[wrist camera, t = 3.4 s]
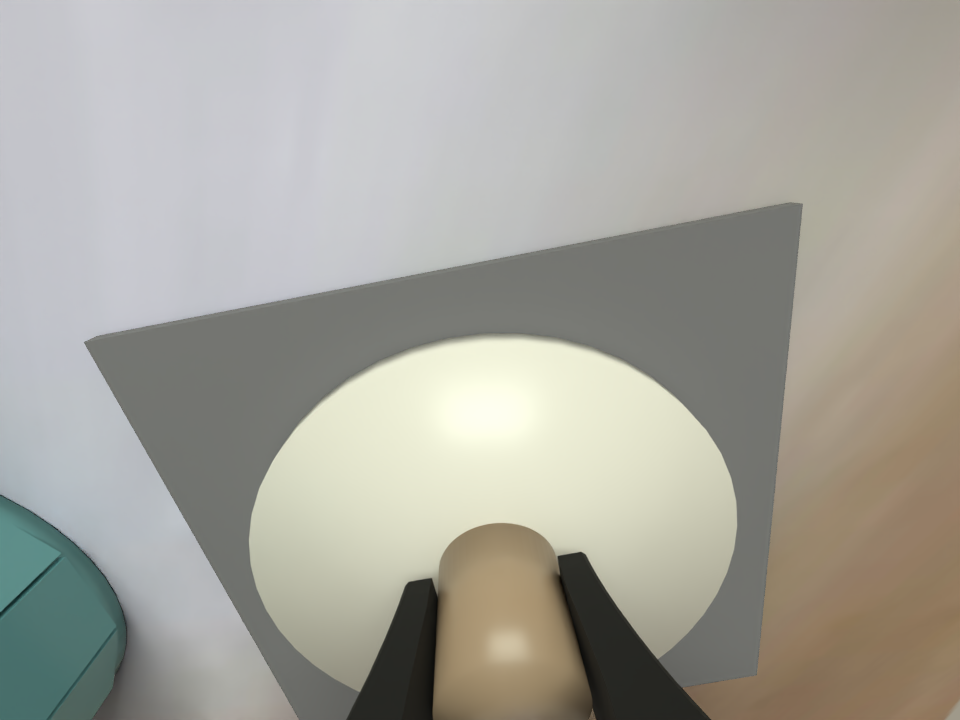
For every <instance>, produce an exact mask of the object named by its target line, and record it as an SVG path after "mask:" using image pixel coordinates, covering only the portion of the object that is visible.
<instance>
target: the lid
mask: <svg viewBox="0 0 960 720" xmlns="http://www.w3.org/2000/svg"><path fill="white" fill-rule="evenodd" d="M736 532H737V506H736V498H735V493H734V489H733V484H732V479H731V476H730V474H729V471H728V469H727V466H726V464H725V462H724V459H723V457H722V454H721V452H720V451H719V449H718V448H717V446H716V444H715V443H714V441H713V440H712V438H711V437H710V435H709V434H708V432H707V430H706V429H705V428H704V427H703V426H702V425H701V424H700V423H699V421H698V420H697V419H696V418H695V417H694V416H693V415H692V414H691V413H690V412H689V410H688V409H687V408H686V407H685V406H684V405H683V404H682V403H681V402H680V401H679V400H678V399H677V398H676V397H675V396H674V395H673V394H672V393H671V392H670V391H669V390H667V389H666V388H665V387H664V386H662V385H661V384H660V383H659V382H657V381H656V380H655V379H654V378H652V377H651V376H650V375H649V374H647V373H645V372H644V371H642V370H640V369H638V368H637V367H635V366H633V365H632V364H630V363H628V362H626V361H625V360H623V359H621V358H619V357H616V356H614V355H611V354H609V353H606V352H604V351H601V350H599V349H596V348H594V347H591V346H588V345H584V344H580V343H576V342H572V341H568V340H565V339H561V338H557V337H549V336H540V335H532V334H523V333H483V334H476V335H468V336H461V337H453V338H446V339H443V340H439V341H435V342H431V343H427V344H423V345H419V346H416V347H412V348H409V349H407V350H404V351H402V352H399V353H397V354H394V355H392V356H389V357H387V358H384V359H382V360H379V361H378V362H376V363H374V364H372V365H370V366H369V367H367V368H365V369H363V370H362V371H360V372H358V373H356V374H354V375H353V376H351V377H349V378H348V379H347V380H345V381H344V382H343V383H341V384H340V385H339V386H337V387H336V388H335V389H333V390H332V391H331V392H329V393H328V394H327V395H325V396H324V397H323V398H322V399H321V400H320V401H319V402H318V403H317V404H316V405H315V406H314V407H313V408H312V409H311V410H310V411H309V412H308V413H307V414H306V415H305V416H304V417H303V418H302V419H301V420H300V422H299V423H298V425H297V426H296V427H295V429H294V430H293V432H292V433H291V434H290V436H289V437H288V439H287V440H286V441H285V443H284V444H283V446H282V447H281V449H280V451H279V452H278V454H277V455H276V457H275V458H274V460H273V462H272V463H271V466H270V468H269V470H268V472H267V474H266V476H265V478H264V480H263V482H262V484H261V486H260V488H259V491H258V494H257V498H256V501H255V504H254V508H253V511H252V515H251V524H250V534H249V549H250V563H251V568H252V572H253V576H254V580H255V584H256V588H257V590H258V593H259V595H260V597H261V599H262V602H263V604H264V606H265V608H266V611H267V612H268V614H269V615H270V617H271V618H272V620H273V621H274V623H275V625H276V626H277V628H278V629H279V631H280V632H281V633H282V634H283V635H284V636H285V638H286V639H287V640H288V641H289V642H290V643H291V644H292V646H293V647H294V648H295V649H296V650H297V651H298V652H300V653H301V654H302V655H303V656H304V657H305V658H306V659H308V660H309V661H310V662H311V663H312V664H313V665H315V666H316V667H318V668H319V669H320V670H322V671H323V672H325V673H326V674H328V675H329V676H331V677H332V678H334V679H335V680H337V681H339V682H341V683H343V684H345V685H347V686H349V687H350V688H352V689H354V690H356V691H359V692H360V691H361V689H362V687H363V685H364V683H365V681H366V679H367V677H368V675H369V673H370V670H371V668H372V666H373V664H374V662H375V659H376V657H377V655H378V653H379V650H380V648H381V646H382V644H383V641H384V639H385V637H386V634H387V632H388V630H389V627H390V625H391V622H392V620H393V617H394V615H395V612H396V610H397V607H398V604H399V602H400V599H401V596H402V593H403V591H404V588H405V585H406V584H407V583H408V582H410V581H416V580H422V579H428V578H432V580H433V583H434V587H435V590H436V593H437V596H438V602H437V625H436V647H435V670H434V692H433V720H588V719H589V717H590V714H591V711H592V705H593V704H592V696H591V692H590V688H589V684H588V680H587V676H586V672H585V668H584V664H583V660H582V657H581V653H580V649H579V645H578V641H577V637H576V633H575V629H574V625H573V622H572V618H571V615H570V612H569V608H568V604H567V600H566V596H565V592H564V588H563V584H562V580H561V576H560V570H559V564H558V557H557V556H560V555H565V554H571V553H577V552H583V553H584V554H586V556H587V558H588V560H589V562H590V564H591V565H592V567H593V569H594V571H595V573H596V574H597V576H598V578H599V579H600V581H601V582H602V584H603V586H604V587H605V589H606V590H607V592H608V593H609V595H610V596H611V598H612V599H613V601H614V602H615V604H616V605H617V607H618V608H619V610H620V611H621V612H622V614H623V615H624V616H625V618H626V619H627V620H628V622H629V623H630V625H631V626H632V627H633V629H634V630H635V631H636V633H637V634H638V635H639V637H640V638H641V639H642V640H643V642H644V643H645V644H646V646H647V647H648V648H649V649H650V651H651V652H652V653H653V654H654V656H655V657H656V658H657V659H659V658H660V657H661V656H663V655H664V654H665V653H667V652H668V651H669V650H670V649H672V648H673V647H674V646H675V645H676V644H677V643H678V642H679V641H680V640H681V639H682V638H683V637H684V636H685V635H686V634H688V632H689V631H690V630H691V629H692V628H693V627H694V625H695V624H696V623H697V622H698V621H699V619H700V618H701V617H702V616H703V615H704V613H705V612H706V610H707V609H708V607H709V606H710V604H711V603H712V601H713V599H714V598H715V596H716V595H717V593H718V591H719V589H720V587H721V585H722V582H723V580H724V578H725V576H726V574H727V571H728V568H729V565H730V561H731V558H732V555H733V552H734V546H735V539H736Z"/></svg>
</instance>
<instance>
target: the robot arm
mask: <svg viewBox="0 0 960 720" xmlns="http://www.w3.org/2000/svg"><path fill="white" fill-rule="evenodd" d="M557 557H558V564H559V570H560V576H561V580H562V584H563V588H564V592H565V596H566V600H567V604H568V608H569V612H570V615H571V618H572V622H573V625H574V629H575V633H576V637H577V641H578V645H579V649H580V653H581V657H582V660H583V664H584V668H585V672H586V676H587V680H588V684H589V688H590V692H591V696H592V704H593V705H592V707H593V710H594V714H595V717H596V720H711V719H710V718H709V717H708V716H707V715H706V714H705V713H704V712H703V711H702V710H701V709H700V707H699V706H698V705H697V704H696V703H695V702H694V701H693V700H692V699H691V698H690V696H689V695H688V694H687V693H686V692H685V691H684V690H683V689H682V688H681V686H680V685H679V684H678V683H677V682H676V681H675V680H674V678H673V677H672V676H671V675H670V674H669V673H668V671H667V670H666V669H665V668H664V667H663V665H662V664H661V663H660V662H659V660H658V659H657V658H656V657H655V656H654V654H653V653H652V652H651V651H650V649H649V648H648V647H647V646H646V644H645V643H644V642H643V640H642V639H641V638H640V637H639V635H638V634H637V633H636V631H635V630H634V629H633V627H632V626H631V625H630V623H629V622H628V620H627V619H626V618H625V616H624V615H623V614H622V612H621V611H620V610H619V608H618V607H617V605H616V604H615V602H614V601H613V599H612V598H611V596H610V595H609V593H608V592H607V590H606V589H605V587H604V586H603V584H602V582H601V581H600V579H599V578H598V576H597V574H596V573H595V571H594V569H593V567H592V565H591V564H590V562H589V560H588V558H587V556H586V554H584V553H583V552H577V553H571V554H565V555H560V556H557ZM437 602H438V596H437V593H436V590H435V587H434V583H433V580H432V578H428V579H422V580H416V581H410V582H408V583H407V584H406V585H405V588H404V591H403V593H402V596H401V599H400V602H399V604H398V607H397V610H396V612H395V615H394V617H393V620H392V622H391V625H390V627H389V630H388V632H387V634H386V637H385V639H384V641H383V644H382V646H381V648H380V650H379V653H378V655H377V657H376V659H375V662H374V664H373V666H372V668H371V670H370V673H369V675H368V677H367V679H366V681H365V683H364V685H363V687H362V689H361V691H360V693H359V695H358V697H357V699H356V701H355V703H354V705H353V707H352V709H351V711H350V713H349V715H348V717H347V719H346V720H433V692H434V670H435V647H436V625H437Z"/></svg>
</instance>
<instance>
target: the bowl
mask: <svg viewBox="0 0 960 720" xmlns="http://www.w3.org/2000/svg"><path fill="white" fill-rule="evenodd" d="M125 647H126V626H125V621H124V617H123V612H122V610H121V607H120V605H119V603H118V600H117V598H116V595H115V594H114V592H113V590H112V589H111V587H110V585H109V584H108V582H107V581H106V579H105V577H104V576H103V575H102V574H101V572H100V571H99V570H98V569H97V568H96V566H95V565H94V564H93V563H92V561H91V560H90V559H89V558H88V557H87V556H86V555H85V554H84V553H83V552H82V551H81V550H80V549H79V548H78V547H77V546H76V545H74V544H73V543H72V542H71V541H70V540H69V539H67V538H66V537H65V536H64V535H62V534H61V533H60V532H59V531H57V530H56V529H55V528H54V527H52V526H51V525H49V524H48V523H46V522H45V521H43V520H42V519H40V518H39V517H37V516H36V515H34V514H33V513H31V512H30V511H28V510H26V509H24V508H23V507H21V506H19V505H17V504H15V503H13V502H12V501H10V500H8V499H6V498H4V497H2V496H0V720H92V718H93V717H94V715H95V714H96V712H97V711H98V709H99V708H100V706H101V705H102V703H103V702H104V700H105V699H106V697H107V696H108V694H109V693H110V691H111V690H112V688H113V682H114V675H115V674H116V672H117V671H118V669H119V666H120V664H121V662H122V660H123V657H124V652H125Z"/></svg>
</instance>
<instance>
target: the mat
mask: <svg viewBox="0 0 960 720" xmlns="http://www.w3.org/2000/svg"><path fill="white" fill-rule="evenodd" d="M802 205H803V204H800V203H785V204H780V205H774V206H769V207H764V208H759V209H754V210H749V211H743V212H738V213H733V214H728V215H723V216H717V217H712V218H707V219H702V220H697V221H691V222H686V223H681V224H676V225H671V226H666V227H660V228H655V229H650V230H645V231H640V232H634V233H629V234H624V235H619V236H614V237H609V238H603V239H598V240H593V241H588V242H583V243H577V244H572V245H567V246H562V247H557V248H551V249H546V250H541V251H536V252H531V253H526V254H520V255H515V256H510V257H505V258H500V259H494V260H489V261H484V262H479V263H474V264H468V265H463V266H458V267H453V268H448V269H443V270H437V271H432V272H427V273H422V274H417V275H411V276H406V277H401V278H396V279H391V280H386V281H380V282H375V283H370V284H365V285H360V286H354V287H349V288H344V289H339V290H334V291H328V292H323V293H318V294H313V295H308V296H303V297H297V298H292V299H287V300H282V301H277V302H271V303H266V304H261V305H256V306H251V307H245V308H240V309H235V310H230V311H225V312H220V313H214V314H209V315H204V316H199V317H194V318H188V319H183V320H178V321H173V322H168V323H163V324H157V325H152V326H147V327H142V328H137V329H131V330H126V331H121V332H116V333H111V334H105V335H100V336H96V337H94V338H92V339H90V340H88V341H85V342H84V343H85V345H86V347H87V349H88V350H89V352H90V354H91V356H92V357H93V359H94V361H95V363H96V364H97V366H98V368H99V370H100V371H101V373H102V375H103V377H104V378H105V380H106V382H107V384H108V385H109V387H110V389H111V391H112V392H113V394H114V396H115V398H116V399H117V401H118V403H119V405H120V406H121V408H122V410H123V412H124V413H125V415H126V417H127V419H128V420H129V422H130V424H131V426H132V427H133V429H134V431H135V433H136V434H137V436H138V438H139V440H140V441H141V443H142V445H143V447H144V448H145V450H146V452H147V454H148V455H149V457H150V459H151V461H152V463H153V464H154V466H155V468H156V470H157V471H158V473H159V475H160V477H161V478H162V480H163V482H164V484H165V485H166V487H167V489H168V491H169V492H170V494H171V496H172V498H173V499H174V501H175V503H176V505H177V506H178V508H179V510H180V512H181V513H182V515H183V517H184V519H185V520H186V522H187V524H188V526H189V527H190V529H191V531H192V533H193V534H194V536H195V538H196V540H197V541H198V543H199V545H200V547H201V548H202V550H203V552H204V554H205V555H206V557H207V559H208V561H209V562H210V564H211V566H212V568H213V569H214V571H215V573H216V575H217V576H218V578H219V580H220V582H221V583H222V585H223V587H224V589H225V590H226V592H227V594H228V596H229V597H230V599H231V601H232V603H233V604H234V606H235V608H236V610H237V611H238V613H239V615H240V617H241V618H242V620H243V622H244V624H245V626H246V627H247V629H248V631H249V633H250V634H251V636H252V638H253V640H254V641H255V643H256V645H257V647H258V648H259V650H260V652H261V654H262V655H263V657H264V659H265V661H266V662H267V664H268V666H269V668H270V669H271V671H272V673H273V675H274V676H275V678H276V680H277V682H278V683H279V685H280V687H281V689H282V690H283V692H284V694H285V696H286V697H287V699H288V701H289V703H290V704H291V706H292V708H293V710H294V711H295V713H296V715H297V717H298V718H299V720H346V719H347V717H348V715H349V713H350V711H351V709H352V707H353V705H354V703H355V701H356V699H357V697H358V695H359V693H360V692H359V691H356V690H354V689H352V688H350V687H349V686H347V685H345V684H343V683H341V682H339V681H337V680H335V679H334V678H332V677H331V676H329V675H328V674H326V673H325V672H323V671H322V670H320V669H319V668H318V667H316V666H315V665H313V664H312V663H311V662H310V661H309V660H308V659H306V658H305V657H304V656H303V655H302V654H301V653H300V652H298V651H297V650H296V649H295V648H294V647H293V646H292V644H291V643H290V642H289V641H288V640H287V639H286V638H285V636H284V635H283V634H282V633H281V632H280V631H279V629H278V628H277V626H276V625H275V623H274V621H273V620H272V618H271V617H270V615H269V614H268V612H267V611H266V608H265V606H264V604H263V602H262V599H261V597H260V595H259V593H258V590H257V588H256V584H255V580H254V576H253V572H252V568H251V563H250V549H249V534H250V524H251V515H252V511H253V508H254V504H255V501H256V498H257V494H258V491H259V488H260V486H261V484H262V482H263V480H264V478H265V476H266V474H267V472H268V470H269V468H270V466H271V463H272V462H273V460H274V458H275V457H276V455H277V454H278V452H279V451H280V449H281V447H282V446H283V444H284V443H285V441H286V440H287V439H288V437H289V436H290V434H291V433H292V432H293V430H294V429H295V427H296V426H297V425H298V423H299V422H300V420H301V419H302V418H303V417H304V416H305V415H306V414H307V413H308V412H309V411H310V410H311V409H312V408H313V407H314V406H315V405H316V404H317V403H318V402H319V401H320V400H321V399H322V398H323V397H324V396H325V395H327V394H328V393H329V392H331V391H332V390H333V389H335V388H336V387H337V386H339V385H340V384H341V383H343V382H344V381H345V380H347V379H348V378H349V377H351V376H353V375H354V374H356V373H358V372H360V371H362V370H363V369H365V368H367V367H369V366H370V365H372V364H374V363H376V362H378V361H379V360H382V359H384V358H387V357H389V356H392V355H394V354H397V353H399V352H402V351H404V350H407V349H409V348H412V347H416V346H419V345H423V344H427V343H431V342H435V341H439V340H443V339H446V338H453V337H461V336H468V335H476V334H483V333H523V334H532V335H540V336H549V337H557V338H561V339H565V340H568V341H572V342H576V343H580V344H584V345H588V346H591V347H594V348H596V349H599V350H601V351H604V352H606V353H609V354H611V355H614V356H616V357H619V358H621V359H623V360H625V361H626V362H628V363H630V364H632V365H633V366H635V367H637V368H638V369H640V370H642V371H644V372H645V373H647V374H649V375H650V376H651V377H652V378H654V379H655V380H656V381H657V382H659V383H660V384H661V385H662V386H664V387H665V388H666V389H667V390H669V391H670V392H671V393H672V394H673V395H674V396H675V397H676V398H677V399H678V400H679V401H680V402H681V403H682V404H683V405H684V406H685V407H686V408H687V409H688V410H689V412H690V413H691V414H692V415H693V416H694V417H695V418H696V419H697V420H698V421H699V423H700V424H701V425H702V426H703V427H704V428H705V429H706V430H707V432H708V434H709V435H710V437H711V438H712V440H713V441H714V443H715V444H716V446H717V448H718V449H719V451H720V452H721V454H722V457H723V459H724V462H725V464H726V466H727V469H728V471H729V474H730V476H731V479H732V484H733V489H734V493H735V498H736V506H737V532H736V539H735V546H734V552H733V555H732V558H731V561H730V565H729V568H728V571H727V574H726V576H725V578H724V580H723V582H722V585H721V587H720V589H719V591H718V593H717V595H716V596H715V598H714V599H713V601H712V603H711V604H710V606H709V607H708V609H707V610H706V612H705V613H704V615H703V616H702V617H701V618H700V619H699V621H698V622H697V623H696V624H695V625H694V627H693V628H692V629H691V630H690V631H689V632H688V634H686V635H685V636H684V637H683V638H682V639H681V640H680V641H679V642H678V643H677V644H676V645H675V646H674V647H673V648H672V649H670V650H669V651H668V652H667V653H665V654H664V655H663V656H661V657H660V658H659V659H658V660H659V662H660V663H661V664H662V665H663V667H664V668H665V669H666V670H667V671H668V673H669V674H670V675H671V676H672V677H673V678H674V680H675V681H676V682H677V683H678V684H679V685H680V686H681V688H682V687H688V686H694V685H700V684H706V683H712V682H718V681H724V680H730V679H737V678H743V677H749V676H755V675H757V667H758V657H759V647H760V637H761V626H762V616H763V606H764V596H765V585H766V575H767V565H768V554H769V544H770V534H771V524H772V513H773V503H774V493H775V483H776V472H777V462H778V452H779V442H780V431H781V421H782V411H783V400H784V390H785V380H786V370H787V359H788V349H789V339H790V329H791V318H792V308H793V298H794V288H795V277H796V267H797V257H798V247H799V236H800V226H801V216H802Z"/></svg>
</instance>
